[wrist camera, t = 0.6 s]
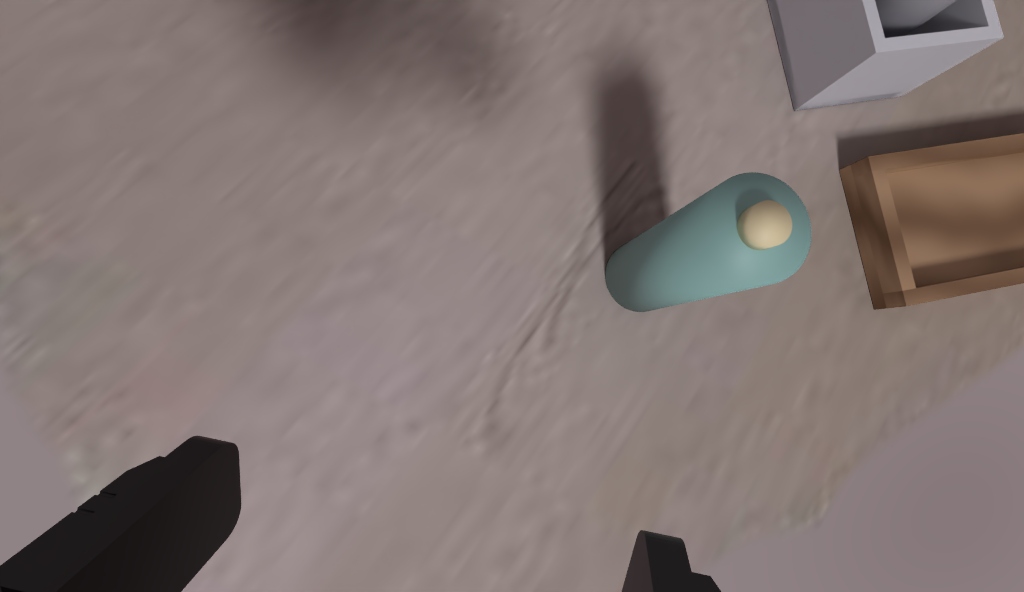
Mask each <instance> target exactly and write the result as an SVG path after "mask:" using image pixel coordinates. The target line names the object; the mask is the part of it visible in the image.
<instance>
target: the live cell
mask: <svg viewBox="0 0 1024 592" xmlns="http://www.w3.org/2000/svg"><path fill="white" fill-rule="evenodd" d="M810 243H811V224H810V219H809V216H808V212H807V210H806V208H805V206H804V204H803V202H802V201H801V199H800V198H799V196H798V195H797V194H796V193H795V192H794V191H793V189H792V188H790V187H789V186H788V185H787V184H786V183H784V182H782V181H781V180H779V179H777V178H775V177H773V176H770V175H767V174H762V173H743V174H739V175H736V176H733V177H731V178H729V179H727V180H726V181H724V182H723V183H721V184H719V185H718V186H716V187H715V188H713V189H711V190H710V191H708V192H707V193H705V194H704V195H702V196H700V197H699V198H697V199H696V200H694V201H693V202H691V203H689V204H688V205H686V206H685V207H683V208H681V209H680V210H678V211H677V212H675V213H674V214H672V215H670V216H669V217H667V218H666V219H664V220H662V221H661V222H659V223H658V224H656V225H655V226H653V227H651V228H650V229H648V230H647V231H645V232H644V233H642V234H640V235H639V236H637V237H636V238H634V239H632V240H631V241H629V242H628V243H626V244H625V245H623V246H621V247H620V248H619V249H617V250H616V251H615V252H614V253H613V254H612V256H611V257H610V259H609V261H608V263H607V266H606V272H605V279H606V285H607V288H608V290H609V292H610V294H611V296H612V297H613V298H614V300H615V301H616V302H617V303H618V304H620V305H621V306H623V307H624V308H626V309H628V310H632V311H636V312H645V311H651V310H655V309H660V308H664V307H669V306H674V305H678V304H683V303H687V302H692V301H697V300H701V299H706V298H711V297H715V296H720V295H724V294H729V293H734V292H738V291H743V290H747V289H752V288H757V287H761V286H766V285H771V284H774V283H778V282H781V281H783V280H785V279H787V278H788V277H790V276H791V275H793V274H794V273H795V272H796V271H797V270H798V269H799V268H800V267H801V265H802V264H803V262H804V261H805V259H806V257H807V254H808V251H809V248H810Z"/></svg>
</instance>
